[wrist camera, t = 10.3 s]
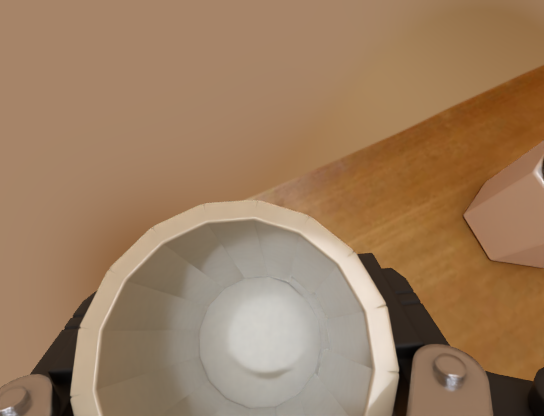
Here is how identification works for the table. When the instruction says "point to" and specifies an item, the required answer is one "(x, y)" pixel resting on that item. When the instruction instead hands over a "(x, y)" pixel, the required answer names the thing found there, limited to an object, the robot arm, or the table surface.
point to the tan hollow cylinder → (236, 322)
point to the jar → (512, 212)
